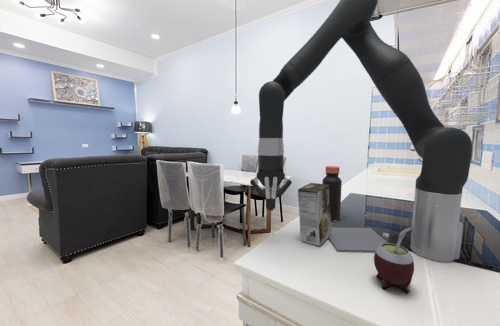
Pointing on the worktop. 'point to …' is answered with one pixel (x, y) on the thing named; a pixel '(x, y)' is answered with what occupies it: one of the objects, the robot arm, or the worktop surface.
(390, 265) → the mate gourd
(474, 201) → the worktop surface
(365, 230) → the mat
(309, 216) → the coffee box
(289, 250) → the worktop surface
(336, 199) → the bottle
